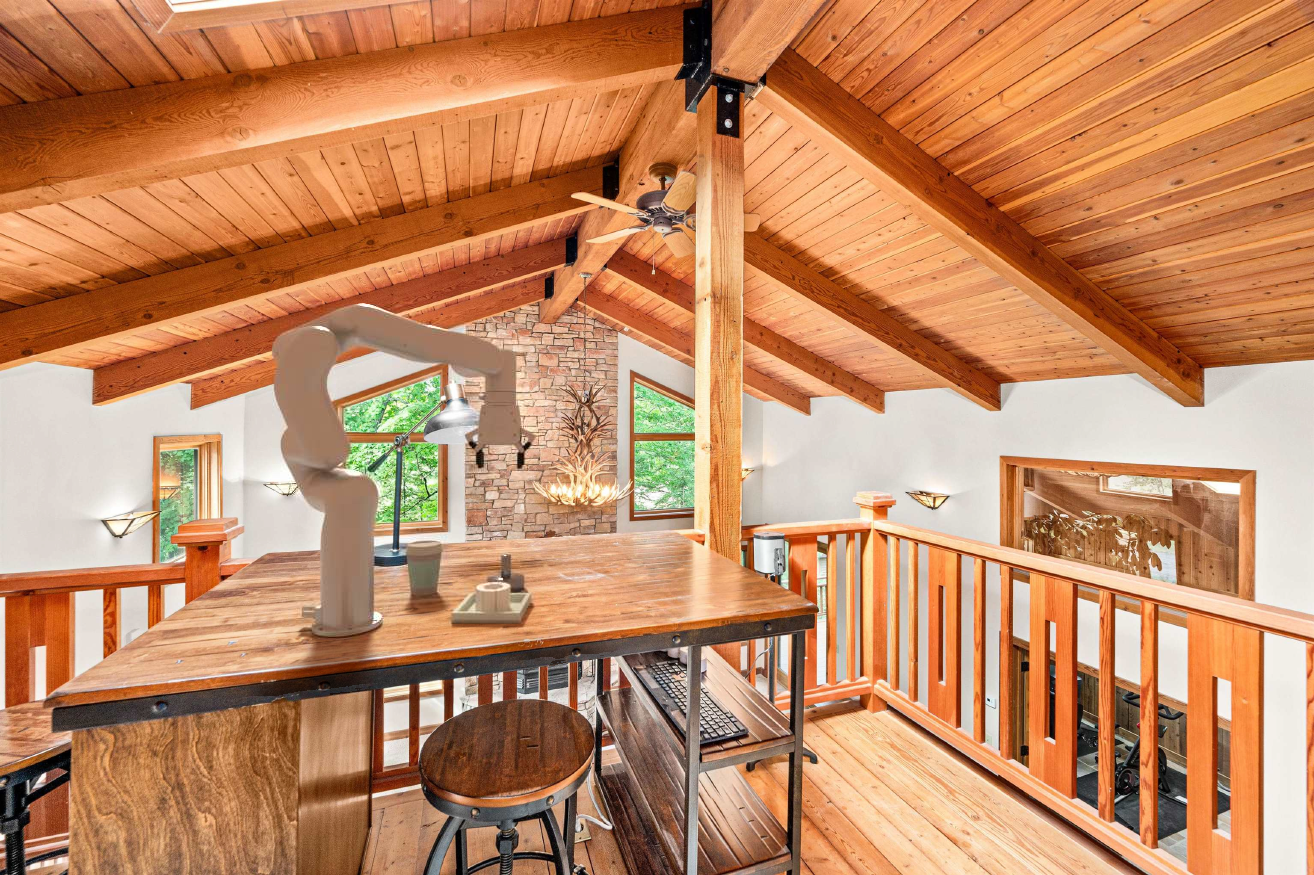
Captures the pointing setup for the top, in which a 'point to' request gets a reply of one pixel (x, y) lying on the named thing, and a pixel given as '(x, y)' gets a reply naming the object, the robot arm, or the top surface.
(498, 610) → the collar
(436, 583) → the coffee cup
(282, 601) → the top surface
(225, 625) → the top surface
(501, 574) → the grey peg stand
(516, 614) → the tray
